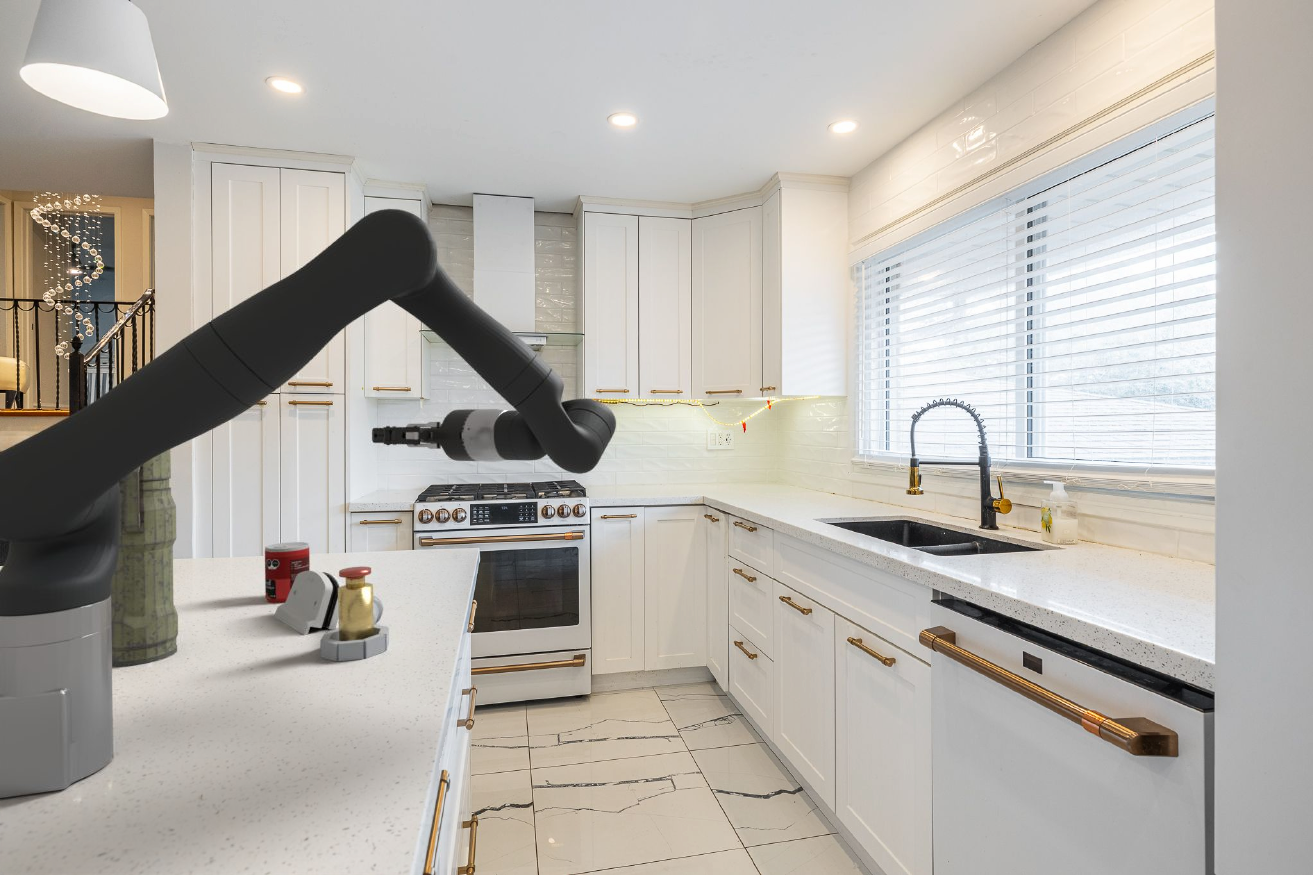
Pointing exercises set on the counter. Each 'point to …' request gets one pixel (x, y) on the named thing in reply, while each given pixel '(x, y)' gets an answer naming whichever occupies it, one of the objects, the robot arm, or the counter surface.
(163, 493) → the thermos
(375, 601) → the grey octagonal holder
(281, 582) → the canned food
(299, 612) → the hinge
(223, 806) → the counter surface
